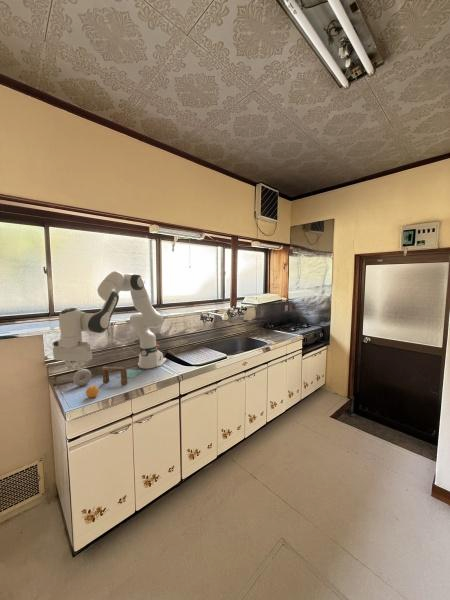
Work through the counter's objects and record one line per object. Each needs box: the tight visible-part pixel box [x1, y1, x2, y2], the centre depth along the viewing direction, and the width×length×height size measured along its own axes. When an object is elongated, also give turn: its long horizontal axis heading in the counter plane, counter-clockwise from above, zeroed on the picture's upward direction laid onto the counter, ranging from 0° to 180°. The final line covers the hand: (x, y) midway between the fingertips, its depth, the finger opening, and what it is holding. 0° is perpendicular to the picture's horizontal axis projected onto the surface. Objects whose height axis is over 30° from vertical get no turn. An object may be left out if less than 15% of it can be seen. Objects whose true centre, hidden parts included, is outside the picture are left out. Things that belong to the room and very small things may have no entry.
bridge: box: [101, 365, 128, 386], centre depth 148 cm, size 3×15×10 cm, turn 76°
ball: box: [85, 385, 99, 398], centre depth 131 cm, size 6×6×6 cm
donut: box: [72, 368, 92, 387], centre depth 147 cm, size 10×4×10 cm, turn 136°
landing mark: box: [115, 369, 145, 379], centre depth 163 cm, size 13×13×1 cm
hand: (74, 369), depth 120 cm, fingers open, 3 cm apart
